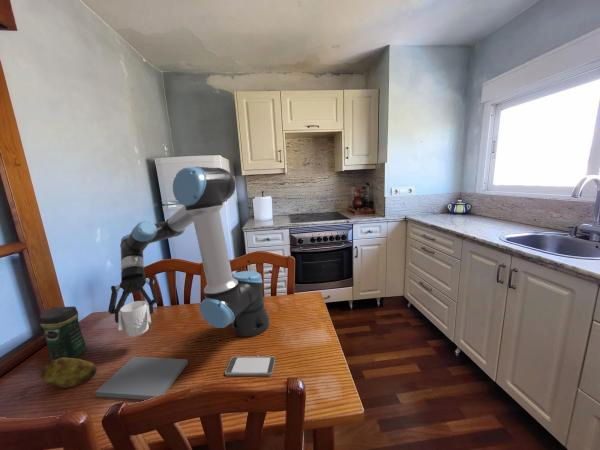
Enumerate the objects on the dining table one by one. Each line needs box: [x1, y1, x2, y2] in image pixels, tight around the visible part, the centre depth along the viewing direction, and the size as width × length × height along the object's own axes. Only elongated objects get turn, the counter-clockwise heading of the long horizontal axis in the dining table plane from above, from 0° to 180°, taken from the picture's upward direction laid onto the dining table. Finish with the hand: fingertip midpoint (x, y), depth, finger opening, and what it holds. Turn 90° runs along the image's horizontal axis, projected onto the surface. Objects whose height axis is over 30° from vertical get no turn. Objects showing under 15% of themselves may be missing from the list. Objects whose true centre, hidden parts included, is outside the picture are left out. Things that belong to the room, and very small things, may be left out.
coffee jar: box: [38, 306, 87, 362], centre depth 86 cm, size 10×8×19 cm
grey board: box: [94, 356, 189, 401], centre depth 75 cm, size 20×14×2 cm
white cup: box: [120, 300, 150, 337], centre depth 87 cm, size 8×8×10 cm
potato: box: [40, 357, 97, 388], centre depth 75 cm, size 8×13×8 cm, turn 82°
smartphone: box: [224, 356, 276, 377], centre depth 78 cm, size 7×1×15 cm
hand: (135, 326), depth 85 cm, fingers closed on white cup, 8 cm apart
